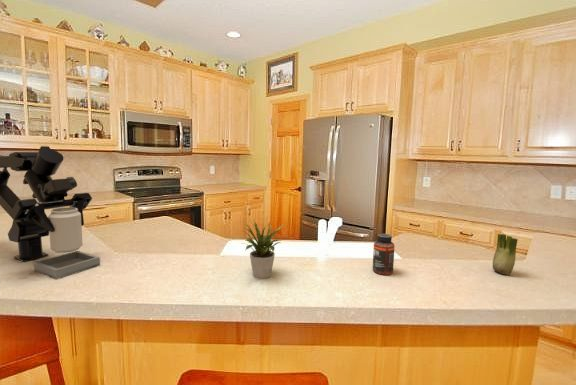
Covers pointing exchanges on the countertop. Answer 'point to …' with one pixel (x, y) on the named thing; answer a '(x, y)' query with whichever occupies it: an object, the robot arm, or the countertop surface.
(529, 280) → the countertop surface
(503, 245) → the fennel bulb
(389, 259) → the supplement bottle
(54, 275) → the tray
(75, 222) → the can
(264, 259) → the house plant
